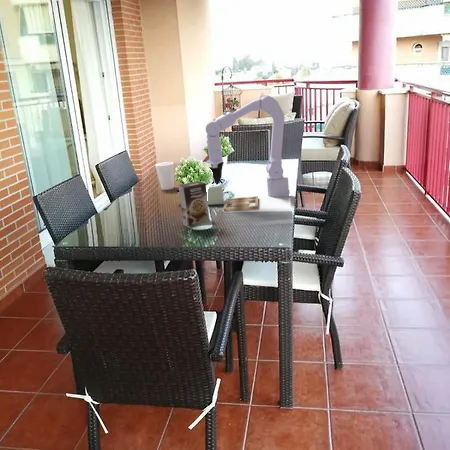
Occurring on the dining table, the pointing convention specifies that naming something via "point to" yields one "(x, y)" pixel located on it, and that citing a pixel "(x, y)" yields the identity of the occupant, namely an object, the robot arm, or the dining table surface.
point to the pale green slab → (215, 195)
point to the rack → (241, 199)
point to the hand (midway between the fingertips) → (218, 180)
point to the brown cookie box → (194, 203)
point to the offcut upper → (240, 204)
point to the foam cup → (166, 175)
